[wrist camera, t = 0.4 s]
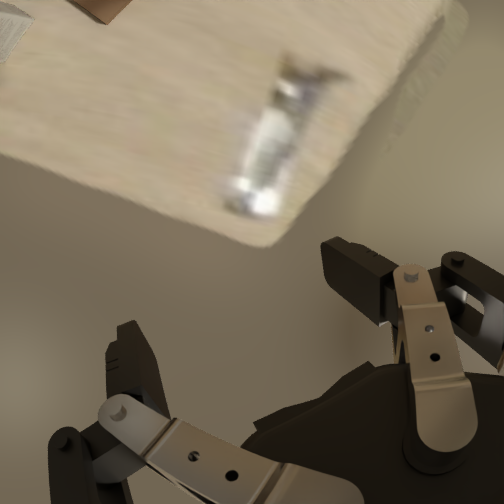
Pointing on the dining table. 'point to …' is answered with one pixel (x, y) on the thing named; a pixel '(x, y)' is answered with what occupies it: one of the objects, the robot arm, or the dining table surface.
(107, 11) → the walnut board
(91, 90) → the dining table surface
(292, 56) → the dining table surface
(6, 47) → the skincare box
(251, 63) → the dining table surface
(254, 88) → the dining table surface
